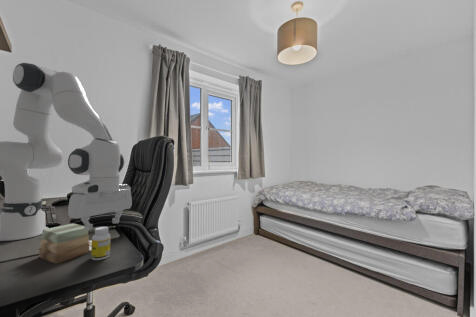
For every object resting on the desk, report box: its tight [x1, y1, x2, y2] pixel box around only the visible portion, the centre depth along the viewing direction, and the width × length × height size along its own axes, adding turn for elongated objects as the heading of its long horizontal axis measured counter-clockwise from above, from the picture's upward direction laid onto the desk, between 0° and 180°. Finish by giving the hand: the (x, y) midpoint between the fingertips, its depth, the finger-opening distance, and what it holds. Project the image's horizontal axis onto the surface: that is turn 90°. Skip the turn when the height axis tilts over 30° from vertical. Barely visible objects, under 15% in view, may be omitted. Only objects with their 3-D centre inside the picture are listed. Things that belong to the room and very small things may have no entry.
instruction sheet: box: [89, 239, 92, 252], centre depth 84 cm, size 10×6×1 cm, turn 66°
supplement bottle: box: [90, 226, 111, 261], centre depth 74 cm, size 5×5×10 cm
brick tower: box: [38, 222, 90, 264], centre depth 75 cm, size 10×10×9 cm
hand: (102, 226), depth 74 cm, fingers open, 8 cm apart
